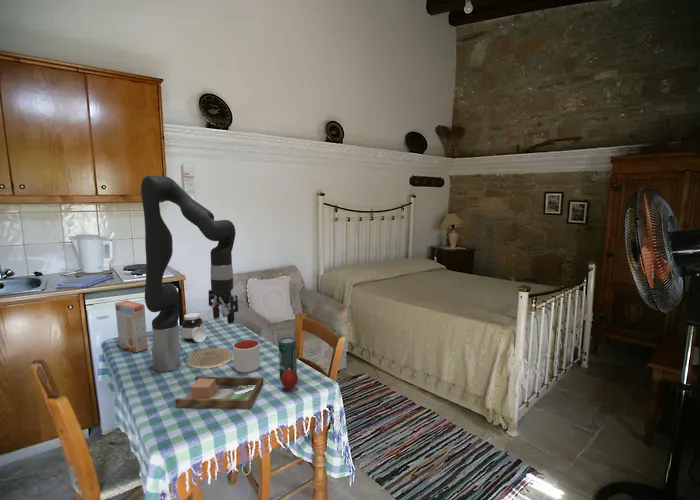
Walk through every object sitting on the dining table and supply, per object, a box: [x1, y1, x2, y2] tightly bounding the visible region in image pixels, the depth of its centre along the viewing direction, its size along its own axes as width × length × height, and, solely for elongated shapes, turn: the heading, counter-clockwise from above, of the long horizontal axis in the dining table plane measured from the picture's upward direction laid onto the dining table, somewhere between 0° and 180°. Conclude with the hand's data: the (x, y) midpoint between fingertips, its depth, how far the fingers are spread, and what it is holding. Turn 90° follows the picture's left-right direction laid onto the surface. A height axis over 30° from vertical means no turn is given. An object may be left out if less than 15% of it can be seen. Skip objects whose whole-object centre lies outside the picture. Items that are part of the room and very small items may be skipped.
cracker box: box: [114, 299, 149, 353], centre depth 172 cm, size 14×6×21 cm, turn 58°
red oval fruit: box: [280, 368, 299, 391], centre depth 136 cm, size 6×6×8 cm
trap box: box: [174, 376, 264, 410], centre depth 131 cm, size 24×16×3 cm, turn 88°
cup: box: [232, 339, 261, 374], centre depth 152 cm, size 10×10×10 cm
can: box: [278, 336, 298, 382], centre depth 143 cm, size 6×6×15 cm
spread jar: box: [181, 312, 207, 343], centre depth 183 cm, size 12×11×12 cm
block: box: [190, 379, 216, 399], centre depth 132 cm, size 6×6×4 cm
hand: (223, 320), depth 138 cm, fingers open, 8 cm apart
